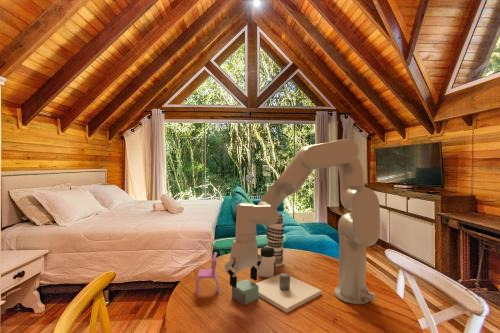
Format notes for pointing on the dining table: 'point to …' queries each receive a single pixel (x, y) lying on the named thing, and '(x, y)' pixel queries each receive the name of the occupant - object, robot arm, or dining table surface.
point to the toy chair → (208, 273)
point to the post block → (286, 292)
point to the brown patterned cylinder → (276, 239)
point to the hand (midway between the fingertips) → (243, 282)
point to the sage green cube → (245, 292)
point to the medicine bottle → (267, 263)
